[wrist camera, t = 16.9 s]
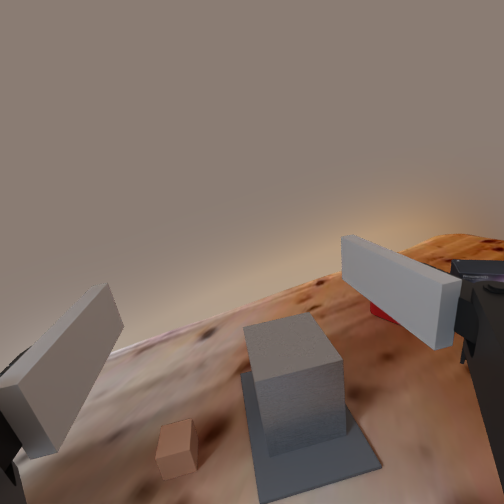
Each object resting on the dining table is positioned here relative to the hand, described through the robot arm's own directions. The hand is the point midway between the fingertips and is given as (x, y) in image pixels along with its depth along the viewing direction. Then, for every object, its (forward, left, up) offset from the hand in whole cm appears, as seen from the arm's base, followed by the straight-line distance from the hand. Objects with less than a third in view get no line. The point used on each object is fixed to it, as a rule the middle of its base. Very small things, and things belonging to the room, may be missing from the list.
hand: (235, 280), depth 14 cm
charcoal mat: (+5, +13, -28) cm, 31 cm away
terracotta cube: (-11, +11, -28) cm, 32 cm away
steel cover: (+5, +13, -28) cm, 31 cm away
